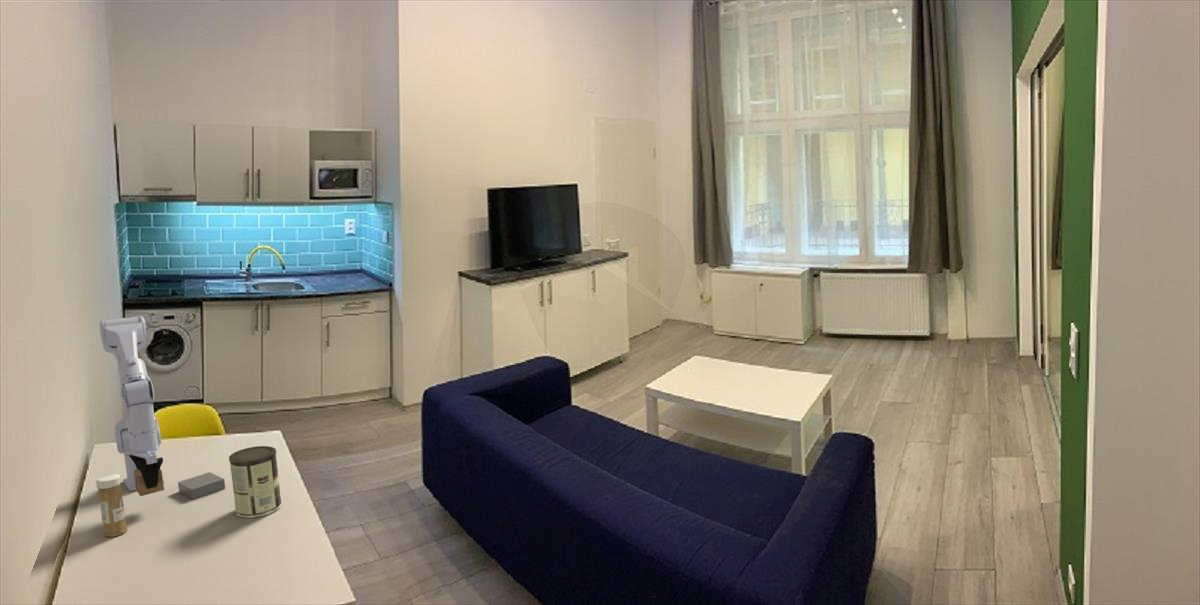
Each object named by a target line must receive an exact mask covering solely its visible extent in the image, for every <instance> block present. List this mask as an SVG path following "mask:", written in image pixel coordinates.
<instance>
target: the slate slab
mask: <svg viewBox="0 0 1200 605" xmlns="http://www.w3.org/2000/svg"><path fill="white" fill-rule="evenodd" d="M177 486H178V492H179V493H180V494H183V495H185V497H187V498H190V500H197V499H200V498H202V497H205V496H208V495H211V494H214V493H217V492H221V491H223V490H225V489H226V483H225V478H223V477H221V476H219V475H216V474H214V473H212V472H211V471H209V472H205V473H203V474H199V475H196V476H194V477H193V476H192V477H190V478H187V479H184V480H180V481H177Z"/></svg>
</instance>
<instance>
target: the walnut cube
mask: <svg viewBox="0 0 1200 605" xmlns="http://www.w3.org/2000/svg"><path fill="white" fill-rule="evenodd" d="M134 478H135V485H136V490H135V491H137V493H138V495H139V496H140V497H144V496H147V495H151V494H155V493H158V492H162V491H163V492H164V491H165V486H164V485H165V484H164V483H163V480H164V478H163V471H162V469H161V468H160V470H159V476H158V484H157V487H154V488H150V489H147V487H146V485H145V483H144V480H143V476H142V474H141V472H140V470H139V469H138V470H134Z"/></svg>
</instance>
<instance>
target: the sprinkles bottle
mask: <svg viewBox="0 0 1200 605" xmlns="http://www.w3.org/2000/svg"><path fill="white" fill-rule="evenodd" d="M121 482H122V480H121V476H120V474H118V473H110V474H105V475H104V474H103V475H102V476H99V477H97V478H96V480H95V483H96V488H97V490H98V497H99V506H100V507H99V508H100V512H101V519H102V520H101V521H102V523H103V529H104V532H103V535H104V536H105V537H108V538H111V537H117V536H120V535H123V534H124V533H126V532H127V531H128V526H127V522H126V512H125V506H124V500H123V494H122V488H121V487H122V486H121Z"/></svg>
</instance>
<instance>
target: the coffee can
mask: <svg viewBox="0 0 1200 605" xmlns="http://www.w3.org/2000/svg"><path fill="white" fill-rule="evenodd" d="M228 461H229V465H230V473H231V474H230V475H231V482H232V490H233V497H234V506H235V515H236V516H237V517H239V518H242V517H243V519H255V518H256V517H257V518H262V517H264V516H268V515H271V514H273V513H275V512H277V511H278V510H279V509H280V508H282V499H281V498H282V497H281V491H280V490H281V489H280V479H279V472H278V471H279V470H278V463H277V449H276V448H275V447H273V446H268V445H261V446H260V445H259V446H251V447H246V448H242V449H239V450H237V451H235V452H233V453H231V454H230V455H229V457H228Z"/></svg>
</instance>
